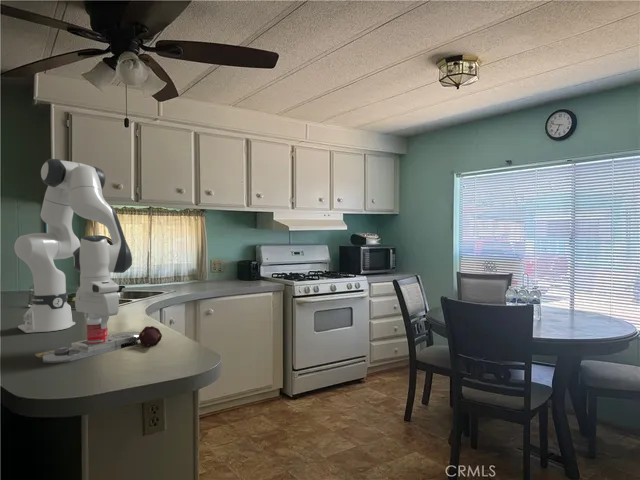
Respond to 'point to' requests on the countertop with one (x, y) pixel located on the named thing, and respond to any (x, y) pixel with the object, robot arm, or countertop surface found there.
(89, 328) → the pill bottle
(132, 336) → the flat tray with frame
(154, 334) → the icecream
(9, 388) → the countertop surface
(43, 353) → the link plate
